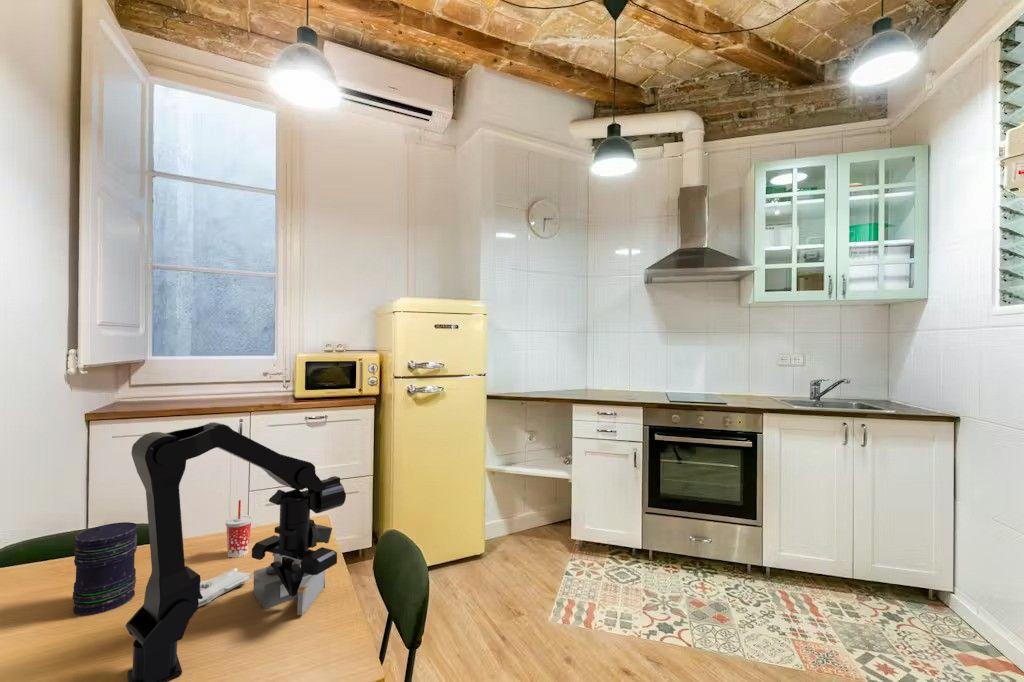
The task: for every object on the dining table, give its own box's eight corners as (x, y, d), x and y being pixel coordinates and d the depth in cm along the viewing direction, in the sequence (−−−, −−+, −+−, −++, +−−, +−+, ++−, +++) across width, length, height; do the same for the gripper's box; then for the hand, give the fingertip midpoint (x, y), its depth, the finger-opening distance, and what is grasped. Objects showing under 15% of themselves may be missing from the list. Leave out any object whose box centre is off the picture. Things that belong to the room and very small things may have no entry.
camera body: (323, 588, 100) (323, 563, 100) (264, 609, 91) (265, 582, 91) (309, 574, 105) (310, 551, 105) (253, 593, 97) (254, 568, 97)
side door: (325, 586, 99) (326, 564, 99) (302, 615, 89) (303, 590, 89) (320, 586, 99) (320, 564, 99) (296, 615, 89) (297, 590, 89)
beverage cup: (256, 552, 117) (257, 499, 117) (231, 561, 112) (233, 506, 112) (244, 546, 120) (245, 495, 120) (219, 555, 115) (221, 501, 115)
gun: (228, 559, 106) (253, 570, 101) (228, 573, 106) (254, 584, 101) (135, 601, 89) (161, 616, 85) (136, 618, 90) (162, 633, 85)
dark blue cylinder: (146, 593, 97) (149, 525, 97) (94, 619, 87) (96, 543, 88) (114, 586, 99) (116, 519, 100) (59, 611, 90) (62, 537, 90)
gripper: (357, 514, 96) (355, 586, 96) (295, 501, 103) (293, 568, 103) (315, 533, 86) (314, 614, 85) (250, 517, 93) (248, 592, 93)
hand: (293, 595), depth 92 cm, fingers closed
